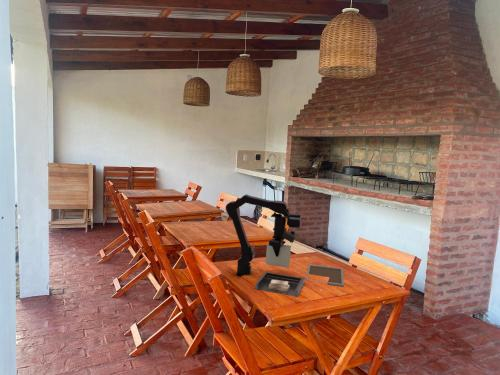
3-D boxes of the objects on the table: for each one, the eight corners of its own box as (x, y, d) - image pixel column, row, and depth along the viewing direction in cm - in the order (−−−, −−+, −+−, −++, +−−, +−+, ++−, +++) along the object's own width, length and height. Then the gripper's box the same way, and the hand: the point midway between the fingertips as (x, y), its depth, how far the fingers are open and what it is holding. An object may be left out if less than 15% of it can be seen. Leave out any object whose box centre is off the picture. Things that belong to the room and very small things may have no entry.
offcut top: (270, 285, 186) (270, 282, 186) (271, 282, 190) (271, 279, 190) (287, 287, 184) (287, 284, 184) (288, 284, 189) (288, 281, 189)
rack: (254, 291, 184) (255, 283, 184) (265, 278, 202) (265, 270, 202) (297, 298, 179) (297, 290, 178) (304, 284, 197) (304, 277, 196)
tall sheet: (265, 264, 203) (267, 243, 202) (266, 263, 205) (268, 242, 204) (288, 267, 200) (290, 246, 198) (289, 266, 202) (290, 245, 200)
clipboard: (305, 280, 201) (309, 262, 230) (305, 283, 201) (308, 265, 230) (344, 285, 197) (342, 266, 226) (343, 288, 197) (342, 269, 227)
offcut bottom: (268, 288, 186) (268, 285, 186) (271, 284, 191) (271, 281, 191) (287, 291, 184) (287, 288, 184) (289, 288, 189) (289, 284, 188)
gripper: (291, 231, 189) (289, 263, 191) (298, 224, 207) (296, 253, 208) (269, 229, 192) (267, 260, 194) (278, 222, 210) (275, 250, 212)
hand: (277, 256), depth 202 cm, fingers closed on tall sheet, 2 cm apart
